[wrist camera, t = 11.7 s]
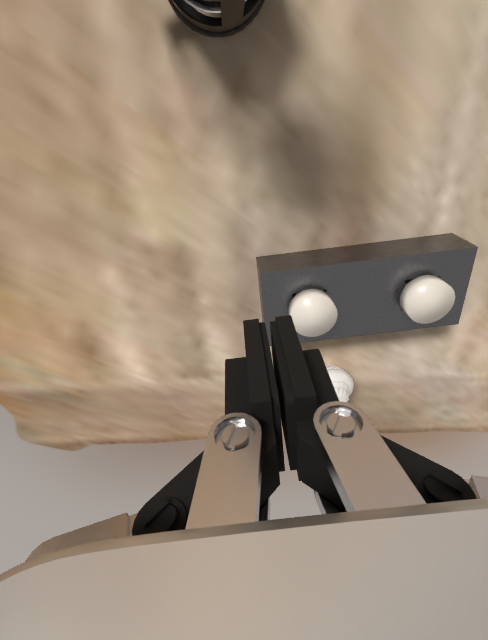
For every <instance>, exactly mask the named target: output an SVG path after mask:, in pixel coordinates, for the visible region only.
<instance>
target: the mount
mask: <svg viewBox="0 0 488 640" xmlns="http://www.w3.org/2000/svg"><path fill="white" fill-rule="evenodd" d="M477 248H478V247H477V246H475V245H473V244H471V243H470V242H468V241H466V240H464V239H462V238H460V237H458V236H456V235H454V234H453V233H450V234H441V235H433V236H425V237H417V238H409V239H401V240H392V241H384V242H376V243H368V244H360V245H352V246H344V247H335V248H327V249H319V250H311V251H303V252H295V253H286V254H278V255H270V256H262V257H256V260H257V270H258V281H259V291H260V301H261V311H262V321H263V322H265V325H266V330H267V336H268V341H269V346H272V344H271V332H270V321H275V317H278V316H286V315H289V313H288V308H289V304H290V302H291V300H292V299H293V298H294V295H293V294H294V293H300V292H301V291H304V290H307V289H319V290H322V291H324V292H326V293H327V294H328V295H329V296H330V298H331V299H332V301H333V303H334V305H335V306H336V309H337V320H336V322H335V324H334V326H333V327H332V328H331V329H330V330H329V331H328V332H326V333H324V334H322V335H320V336H316V337H307V336H303V335H301V334H299V333H298V332H297V336H298V339H299V342H308V341H317V340H326V339H334V338H343V337H351V336H360V335H368V334H377V333H385V332H394V331H402V330H411V329H419V328H428V327H437V326H445V325H454V324H458V323H459V319H460V315H461V311H462V307H463V303H464V300H465V296H466V292H467V288H468V284H469V280H470V276H471V272H472V268H473V264H474V260H475V256H476V252H477ZM423 275H435V276H437V277H439V278H440V279H442V280H443V281H444V282H446V283H447V284H448V285H450V286H451V287H452V288H453V290H454V292H455V302H454V304H453V307H452V308H451V310H450V311H449V312H448V313H447V314H446V315H445V316H444V317H442V318H441V319H439V320H437V321H435V322H432V323H427V324H421V323H417V322H415V321H413V320H412V319H411V318H410V317H409V316H408V315H407V314H406V313H405V311H404V310H403V309H402V308H401V306H400V295H401V293H402V291H403V289H404V286H405V280H410V279H415V278H417V277H420V276H423Z"/></svg>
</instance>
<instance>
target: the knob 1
mask: <svg viewBox="0 0 488 640" xmlns="http://www.w3.org/2000/svg"><path fill="white" fill-rule="evenodd" d="M293 295H294V298H293V299H292V300H291V302H290V304H289V308H288V313H289V315H291V317H292V320H293V323H294V326H295V329H296V332H298V333H299V334H301V335H303V336H307V337H316V336H320V335H322V334H324V333H326V332H328V331H329V330H330V329H331V328H332V327H333V326H334V324H335V322H336V320H337V309H336V306H335V305H334V303H333V301H332V299H331V298H330V296H329V295H328V294H327V293H326V292H324V291H322V290H319V289H307V290H304V291H301V292H300V293H294V294H293Z"/></svg>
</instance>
